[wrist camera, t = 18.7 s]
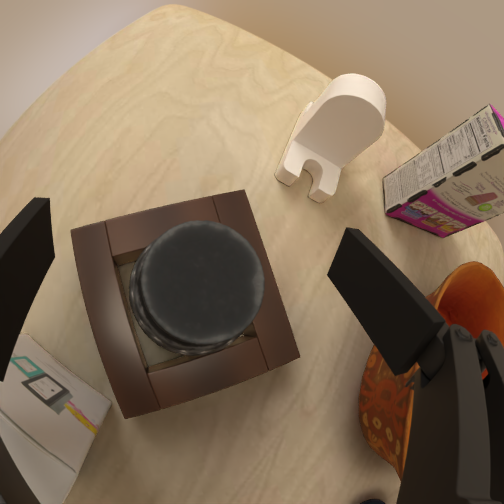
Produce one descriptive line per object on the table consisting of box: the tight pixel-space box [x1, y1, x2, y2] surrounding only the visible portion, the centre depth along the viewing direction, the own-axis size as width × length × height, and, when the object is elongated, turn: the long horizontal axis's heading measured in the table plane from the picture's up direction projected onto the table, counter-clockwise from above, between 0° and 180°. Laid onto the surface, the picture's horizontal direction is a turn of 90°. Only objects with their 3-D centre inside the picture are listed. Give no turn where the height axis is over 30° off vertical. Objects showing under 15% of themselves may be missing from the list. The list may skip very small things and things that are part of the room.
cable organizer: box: [275, 74, 386, 203], centre depth 23 cm, size 5×10×10 cm, turn 159°
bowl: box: [359, 261, 504, 481], centre depth 21 cm, size 21×21×10 cm
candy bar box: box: [383, 104, 504, 238], centre depth 24 cm, size 11×5×16 cm, turn 82°
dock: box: [71, 190, 300, 419], centre depth 19 cm, size 12×12×3 cm
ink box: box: [0, 334, 112, 504], centre depth 10 cm, size 9×8×12 cm
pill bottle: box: [129, 220, 265, 356], centre depth 16 cm, size 6×6×11 cm
